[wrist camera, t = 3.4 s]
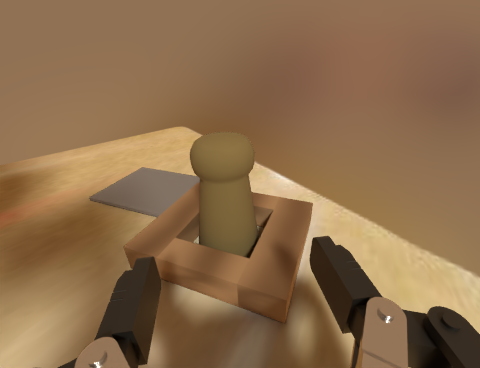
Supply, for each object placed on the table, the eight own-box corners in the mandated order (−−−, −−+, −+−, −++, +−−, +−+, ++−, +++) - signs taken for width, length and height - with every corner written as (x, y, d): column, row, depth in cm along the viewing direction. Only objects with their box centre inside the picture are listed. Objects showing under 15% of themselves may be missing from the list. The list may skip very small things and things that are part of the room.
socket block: (130, 267, 22) (123, 246, 20) (199, 199, 31) (197, 182, 30) (284, 323, 17) (286, 300, 16) (310, 222, 26) (312, 203, 25)
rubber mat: (90, 200, 32) (89, 197, 32) (142, 169, 40) (142, 167, 40) (162, 218, 28) (162, 215, 28) (205, 180, 36) (205, 177, 36)
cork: (220, 218, 28) (211, 122, 22) (269, 233, 25) (272, 129, 20) (186, 252, 23) (164, 142, 18) (241, 276, 20) (234, 155, 15)
